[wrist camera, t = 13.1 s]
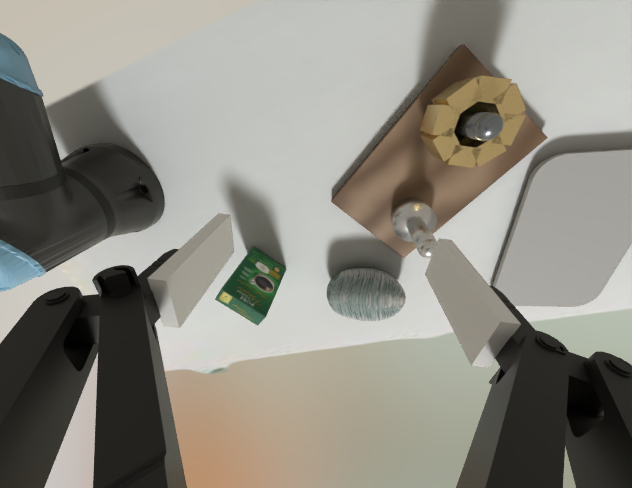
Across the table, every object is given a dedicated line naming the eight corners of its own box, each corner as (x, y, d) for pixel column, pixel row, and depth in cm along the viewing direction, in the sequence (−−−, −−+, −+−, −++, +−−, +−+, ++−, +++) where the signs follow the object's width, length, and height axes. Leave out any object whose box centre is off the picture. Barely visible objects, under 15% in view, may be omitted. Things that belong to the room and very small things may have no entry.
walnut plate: (331, 198, 40) (331, 201, 38) (458, 46, 29) (463, 44, 27) (402, 253, 43) (404, 257, 42) (539, 136, 32) (547, 137, 31)
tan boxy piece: (412, 153, 31) (423, 160, 26) (436, 77, 27) (452, 71, 22) (476, 162, 30) (498, 171, 26) (510, 87, 26) (541, 83, 22)
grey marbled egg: (321, 311, 48) (332, 332, 38) (323, 263, 47) (335, 271, 37) (386, 310, 50) (413, 329, 40) (388, 264, 50) (416, 272, 40)
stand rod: (382, 218, 39) (393, 255, 29) (411, 189, 36) (434, 219, 26) (409, 239, 40) (428, 282, 30) (439, 213, 37) (470, 250, 27)
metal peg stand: (414, 126, 32) (442, 135, 22) (453, 82, 29) (504, 70, 19) (445, 155, 33) (485, 176, 23) (485, 116, 30) (548, 120, 21)
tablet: (482, 296, 46) (489, 305, 44) (529, 152, 33) (541, 155, 32) (581, 298, 44) (591, 307, 42) (670, 143, 31) (692, 146, 29)
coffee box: (245, 254, 47) (212, 300, 36) (252, 244, 46) (220, 289, 35) (279, 276, 49) (258, 327, 38) (287, 267, 48) (267, 318, 36)
